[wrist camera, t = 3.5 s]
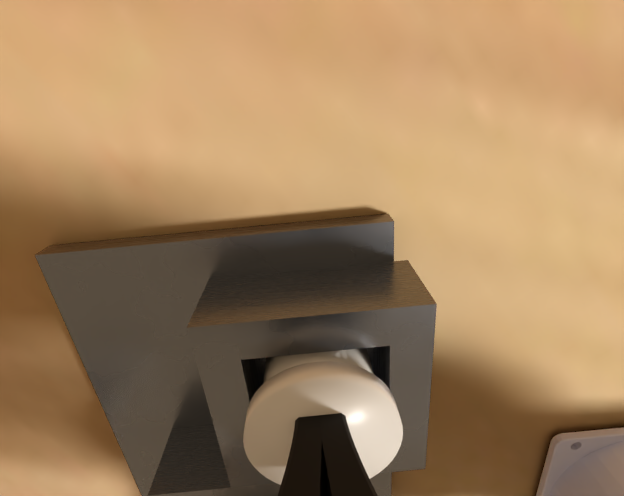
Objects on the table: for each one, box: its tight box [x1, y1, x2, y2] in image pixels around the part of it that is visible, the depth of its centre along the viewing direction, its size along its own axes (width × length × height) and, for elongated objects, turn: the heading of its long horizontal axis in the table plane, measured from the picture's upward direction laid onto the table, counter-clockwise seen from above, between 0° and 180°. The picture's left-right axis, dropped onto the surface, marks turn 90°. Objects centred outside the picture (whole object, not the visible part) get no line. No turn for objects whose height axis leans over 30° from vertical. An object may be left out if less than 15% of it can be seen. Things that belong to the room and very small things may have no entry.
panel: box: [35, 214, 436, 496], centre depth 16 cm, size 13×24×4 cm, turn 5°
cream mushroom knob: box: [243, 348, 403, 485], centre depth 12 cm, size 5×5×4 cm
